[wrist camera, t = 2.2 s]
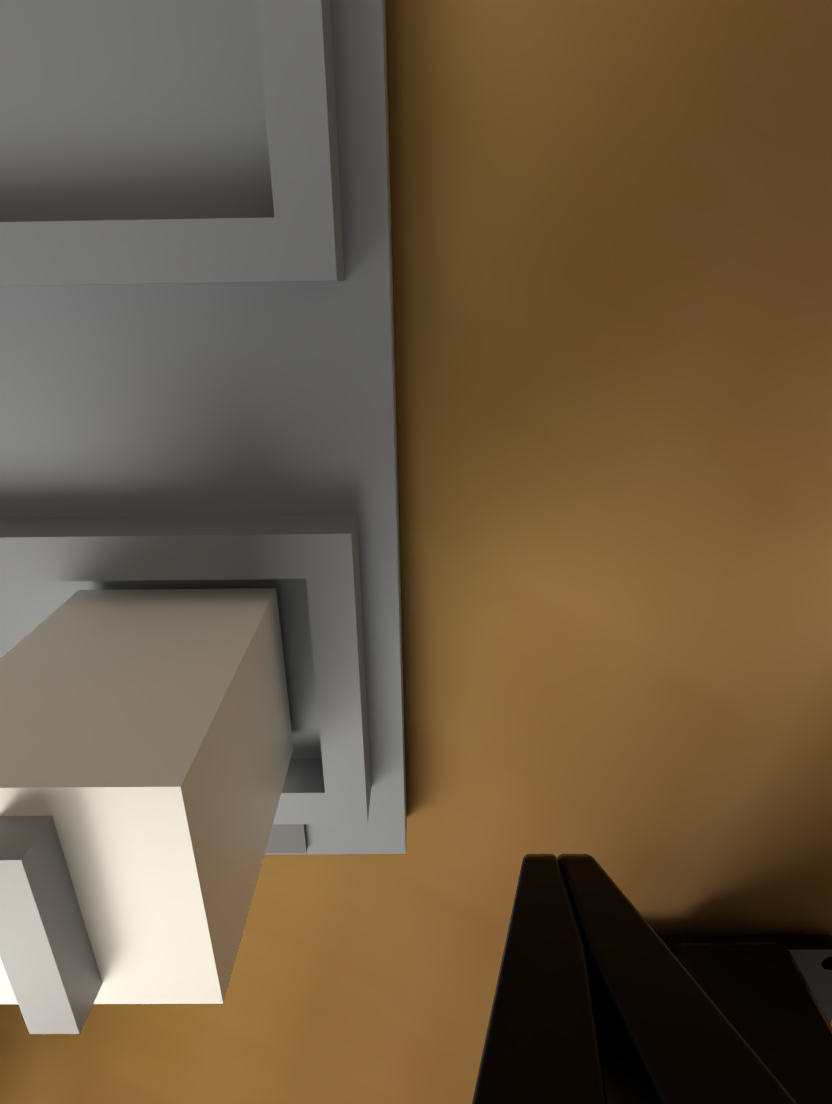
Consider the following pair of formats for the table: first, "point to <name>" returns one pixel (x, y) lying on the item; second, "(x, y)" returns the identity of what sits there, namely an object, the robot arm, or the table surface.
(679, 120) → the table surface
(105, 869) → the tab
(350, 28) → the switch board
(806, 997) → the robot arm
